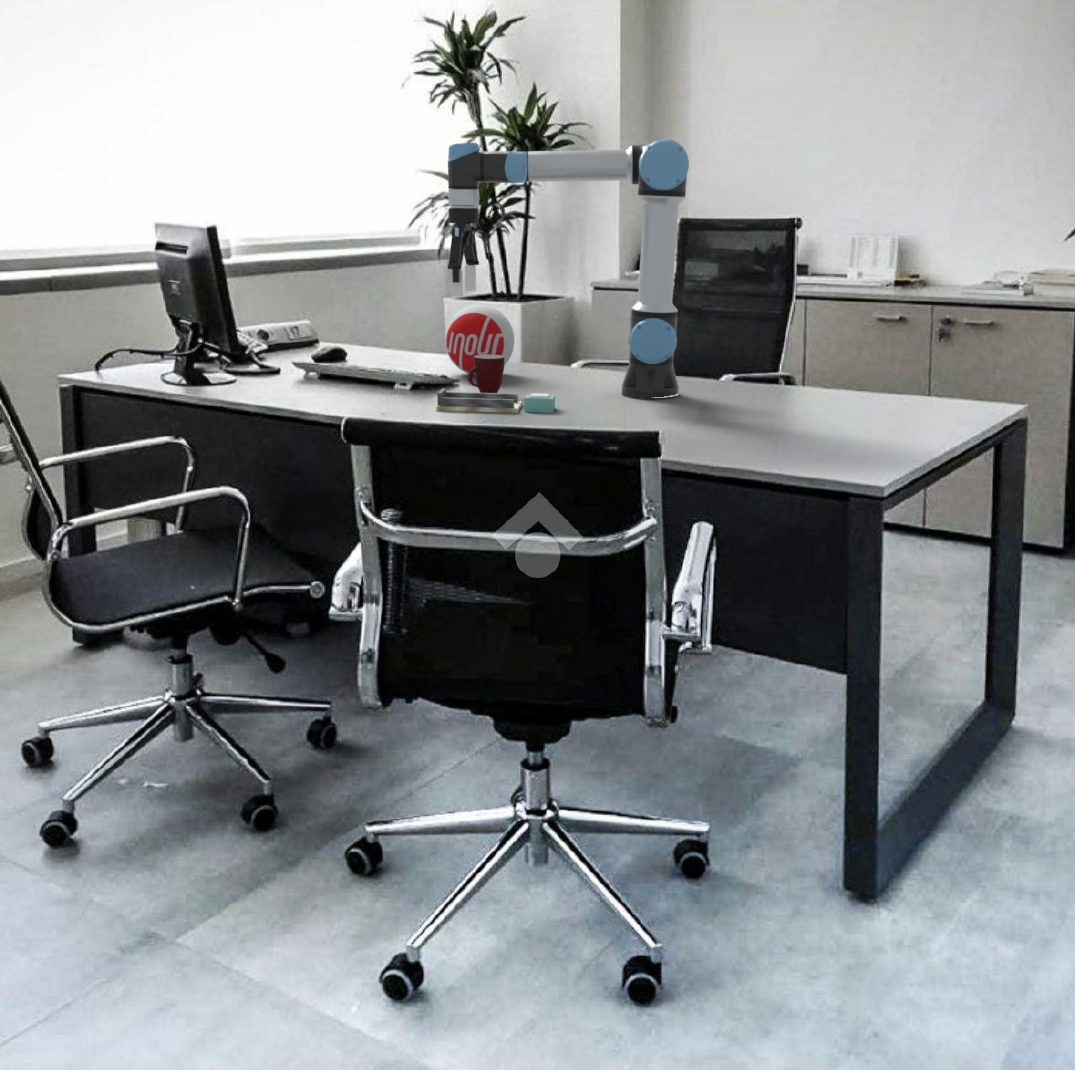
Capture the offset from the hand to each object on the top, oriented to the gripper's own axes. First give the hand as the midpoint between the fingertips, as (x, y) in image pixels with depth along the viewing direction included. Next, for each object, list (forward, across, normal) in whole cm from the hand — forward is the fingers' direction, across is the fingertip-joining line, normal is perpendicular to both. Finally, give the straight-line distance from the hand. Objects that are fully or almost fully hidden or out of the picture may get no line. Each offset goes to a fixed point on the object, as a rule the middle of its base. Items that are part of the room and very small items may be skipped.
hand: (463, 293), depth 334 cm
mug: (+27, -7, +4) cm, 28 cm away
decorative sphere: (+27, -39, -5) cm, 48 cm away
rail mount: (+27, +12, +7) cm, 30 cm away
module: (+27, +11, +22) cm, 36 cm away
